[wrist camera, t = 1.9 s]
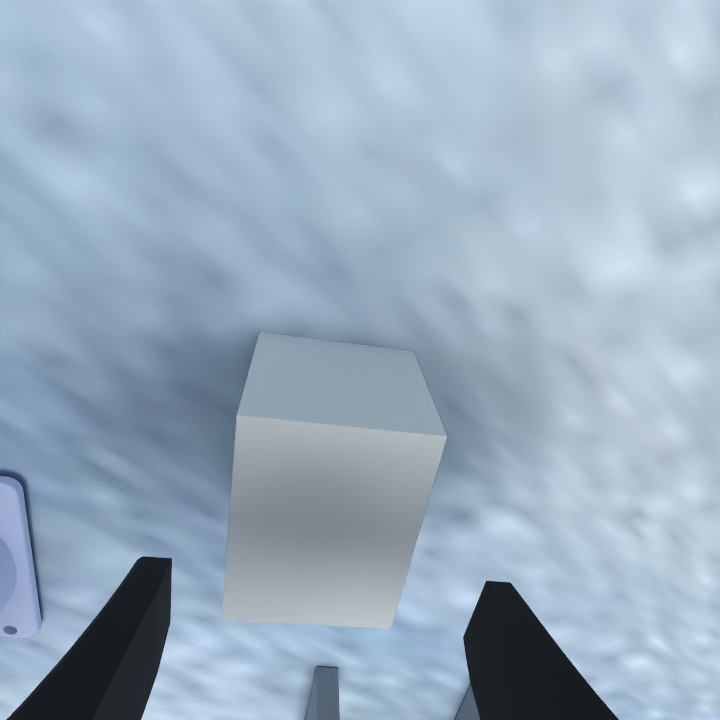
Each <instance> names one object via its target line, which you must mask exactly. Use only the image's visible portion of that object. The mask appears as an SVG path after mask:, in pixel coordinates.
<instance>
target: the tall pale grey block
mask: <svg viewBox="0 0 720 720" xmlns="http://www.w3.org/2000/svg"><path fill="white" fill-rule="evenodd" d="M446 439H447V435H446V432H445V430H444V427H443V425H442V422H441V420H440V417H439V415H438V412H437V410H436V407H435V405H434V402H433V399H432V397H431V394H430V392H429V389H428V387H427V384H426V382H425V379H424V377H423V374H422V372H421V369H420V367H419V364H418V362H417V359H416V356H415V354H414V351H410V350H402V349H394V348H386V347H377V346H369V345H361V344H353V343H345V342H337V341H329V340H321V339H313V338H305V337H297V336H289V335H281V334H273V333H265V332H260V333H259V336H258V340H257V343H256V347H255V351H254V354H253V358H252V361H251V365H250V369H249V372H248V376H247V379H246V383H245V387H244V390H243V394H242V398H241V401H240V405H239V408H238V412H237V417H236V431H235V444H234V458H233V471H232V485H231V498H230V512H229V525H228V539H227V552H226V566H225V579H224V593H223V606H222V620H221V621H242V622H264V623H285V624H307V625H329V626H350V627H372V628H391V627H392V624H393V620H394V617H395V613H396V610H397V606H398V603H399V600H400V596H401V593H402V589H403V586H404V583H405V579H406V576H407V572H408V569H409V565H410V562H411V559H412V555H413V552H414V548H415V545H416V542H417V538H418V535H419V531H420V528H421V524H422V521H423V518H424V514H425V511H426V507H427V504H428V500H429V497H430V494H431V490H432V487H433V483H434V480H435V477H436V473H437V470H438V466H439V463H440V459H441V456H442V453H443V449H444V446H445V442H446Z"/></svg>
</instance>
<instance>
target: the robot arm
mask: <svg viewBox="0 0 720 720" xmlns="http://www.w3.org/2000/svg"><path fill="white" fill-rule="evenodd" d="M171 571H172V558H158V557H144V556H143V557H141V558H139V559H138V560H137V561H136V562H135V564H134V565H133V567H132V569H131V570H130V572H129V573H128V574H127V576H126V577H125V579H124V580H123V582H122V583H121V584H120V586H119V587H118V589H117V590H116V591H115V593H114V594H113V595H112V597H111V598H110V599H109V601H108V602H107V603H106V605H105V606H104V607H103V609H102V610H101V611H100V613H99V614H98V615H97V616H96V618H95V619H94V620H93V621H92V623H91V624H90V625H89V626H88V628H87V629H86V630H85V631H84V632H83V634H82V635H81V636H80V637H79V639H78V640H77V641H76V642H75V644H74V645H73V646H72V647H71V648H70V650H69V651H68V652H67V653H66V654H65V656H64V657H63V658H62V659H61V660H60V661H59V663H58V664H57V665H56V666H55V667H54V668H53V669H52V670H51V672H50V673H49V674H48V675H47V676H46V677H45V678H44V679H43V681H42V682H41V683H40V684H39V685H38V686H37V687H36V688H35V690H34V691H33V692H32V693H31V694H30V695H29V696H28V697H27V699H26V700H25V701H24V702H23V703H22V704H21V705H20V706H19V707H18V708H17V709H16V710H15V711H14V712H13V714H12V715H11V716H10V717H9V718H8V719H7V720H141V718H142V715H143V713H144V710H145V707H146V704H147V701H148V698H149V696H150V693H151V690H152V687H153V684H154V681H155V678H156V675H157V672H158V668H159V665H160V661H161V657H162V653H163V649H164V645H165V641H166V637H167V633H168V629H169V625H170V612H171ZM41 624H42V623H41V616H40V608H39V601H38V594H37V587H36V579H35V572H34V565H33V558H32V550H31V543H30V536H29V529H28V521H27V514H26V507H25V500H24V492H23V488H22V485H21V484H20V483H19V482H18V481H17V480H15V479H13V478H10V477H5V476H0V637H10V638H31V637H33V636H35V635H36V634H37V633H38V631H39V629H40V627H41ZM463 639H464V646H465V652H466V659H467V665H468V671H469V677H470V682H471V687H472V691H473V695H474V699H475V702H476V706H477V709H478V713H479V717H480V720H619V719H618V718H617V717H616V716H615V715H614V714H613V712H612V711H611V710H610V709H609V708H608V707H607V705H606V704H605V703H604V702H603V701H602V700H601V698H600V697H599V696H598V695H597V694H596V693H595V691H594V690H593V689H592V688H591V686H590V685H589V684H588V683H587V682H586V680H585V679H584V678H583V677H582V675H581V674H580V673H579V672H578V670H577V669H576V668H575V667H574V665H573V664H572V663H571V662H570V660H569V659H568V658H567V657H566V655H565V654H564V653H563V651H562V650H561V649H560V648H559V646H558V645H557V644H556V642H555V641H554V640H553V638H552V637H551V636H550V634H549V633H548V632H547V630H546V629H545V628H544V626H543V625H542V624H541V622H540V621H539V620H538V618H537V617H536V616H535V614H534V613H533V612H532V610H531V609H530V608H529V606H528V605H527V604H526V602H525V601H524V600H523V598H522V597H521V596H520V594H519V593H518V592H517V590H516V589H515V588H514V586H513V585H512V584H511V583H509V582H495V581H486V583H485V585H484V588H483V590H482V593H481V595H480V598H479V600H478V602H477V605H476V607H475V610H474V612H473V615H472V617H471V620H470V622H469V625H468V627H467V629H466V632H465V634H464V637H463Z"/></svg>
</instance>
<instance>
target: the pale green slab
mask: <svg viewBox="0 0 720 720" xmlns="http://www.w3.org/2000/svg"><path fill="white" fill-rule="evenodd" d="M305 720H340V717H339V689H338V668H328V667H316V672H315V676H314V681H313V685H312V690H311V694H310V699H309V703H308V707H307V712H306V716H305ZM455 720H480V717H479V713H478V709H477V706H476V702H475V699H474V695H473V691H472V687H471V684H470V686H469V689H468V691H467V693H466V695H465V698H464V700H463V702H462V705H461V707H460V709H459V711H458V714H457V716H456V718H455Z"/></svg>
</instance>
